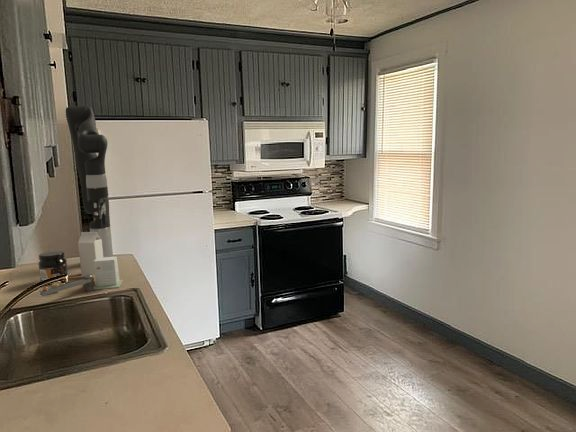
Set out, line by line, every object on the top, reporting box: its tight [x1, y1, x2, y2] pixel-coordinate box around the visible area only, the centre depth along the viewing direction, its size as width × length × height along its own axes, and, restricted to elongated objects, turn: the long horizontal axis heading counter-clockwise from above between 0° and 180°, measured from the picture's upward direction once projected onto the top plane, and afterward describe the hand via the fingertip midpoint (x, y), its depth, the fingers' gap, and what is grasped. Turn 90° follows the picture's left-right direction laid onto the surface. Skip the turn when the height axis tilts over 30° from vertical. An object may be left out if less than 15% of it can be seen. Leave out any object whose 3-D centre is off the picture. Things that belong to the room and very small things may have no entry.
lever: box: [39, 275, 93, 297], centre depth 159 cm, size 3×19×3 cm, turn 146°
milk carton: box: [77, 231, 103, 276], centre depth 188 cm, size 7×7×19 cm
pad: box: [93, 278, 123, 291], centre depth 173 cm, size 10×10×1 cm
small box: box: [93, 256, 120, 286], centre depth 173 cm, size 8×6×10 cm
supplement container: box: [37, 250, 69, 282], centre depth 180 cm, size 10×10×12 cm
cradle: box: [50, 275, 96, 294], centre depth 171 cm, size 15×15×3 cm
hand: (101, 226), depth 172 cm, fingers open, 8 cm apart
